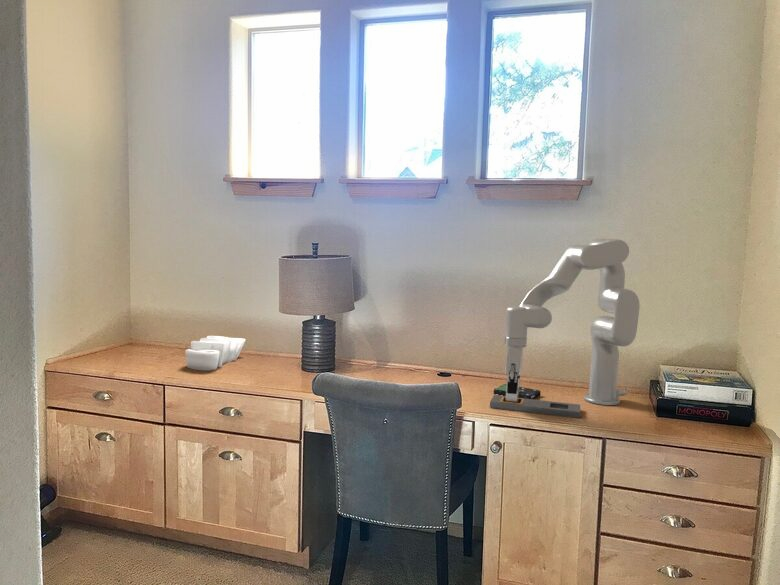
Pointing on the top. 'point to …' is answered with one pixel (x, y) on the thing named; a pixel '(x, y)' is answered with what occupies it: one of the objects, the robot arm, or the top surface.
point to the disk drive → (523, 392)
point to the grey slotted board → (537, 406)
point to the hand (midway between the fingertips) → (513, 390)
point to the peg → (512, 397)
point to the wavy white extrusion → (213, 352)
